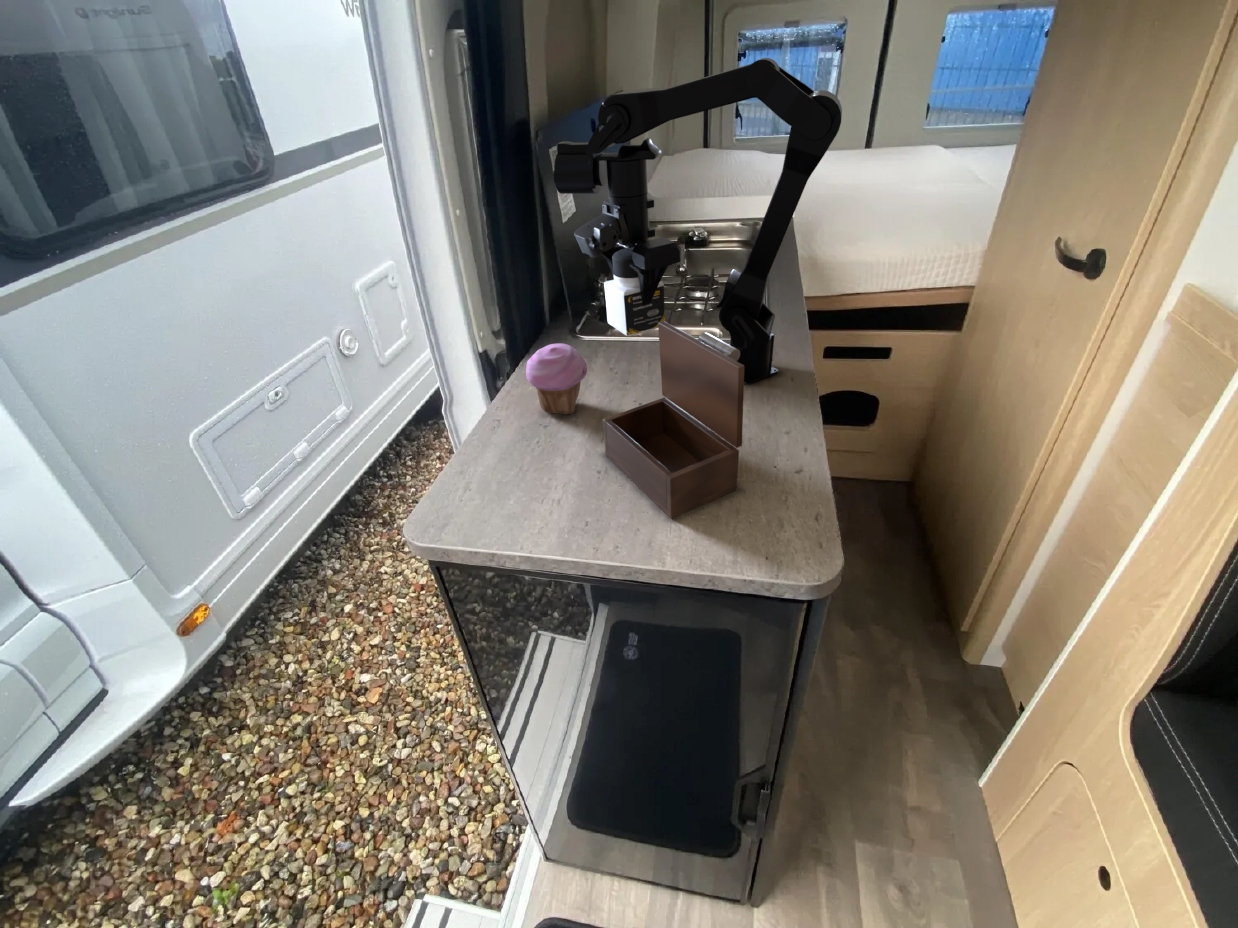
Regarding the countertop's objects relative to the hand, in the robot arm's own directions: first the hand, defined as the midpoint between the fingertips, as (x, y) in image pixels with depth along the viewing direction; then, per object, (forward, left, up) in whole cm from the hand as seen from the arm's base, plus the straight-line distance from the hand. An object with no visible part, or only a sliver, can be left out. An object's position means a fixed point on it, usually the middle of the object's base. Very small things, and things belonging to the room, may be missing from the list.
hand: (633, 298), depth 97 cm
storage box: (+13, +29, -11) cm, 34 cm away
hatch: (+9, +29, 0) cm, 30 cm away
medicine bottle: (0, 0, -5) cm, 5 cm away
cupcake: (+17, +6, -12) cm, 21 cm away
